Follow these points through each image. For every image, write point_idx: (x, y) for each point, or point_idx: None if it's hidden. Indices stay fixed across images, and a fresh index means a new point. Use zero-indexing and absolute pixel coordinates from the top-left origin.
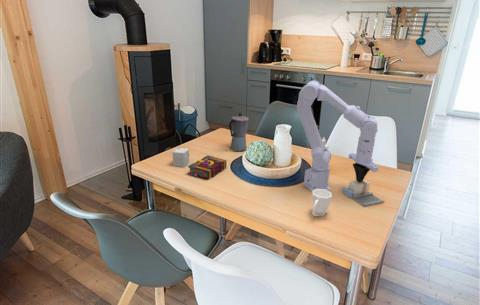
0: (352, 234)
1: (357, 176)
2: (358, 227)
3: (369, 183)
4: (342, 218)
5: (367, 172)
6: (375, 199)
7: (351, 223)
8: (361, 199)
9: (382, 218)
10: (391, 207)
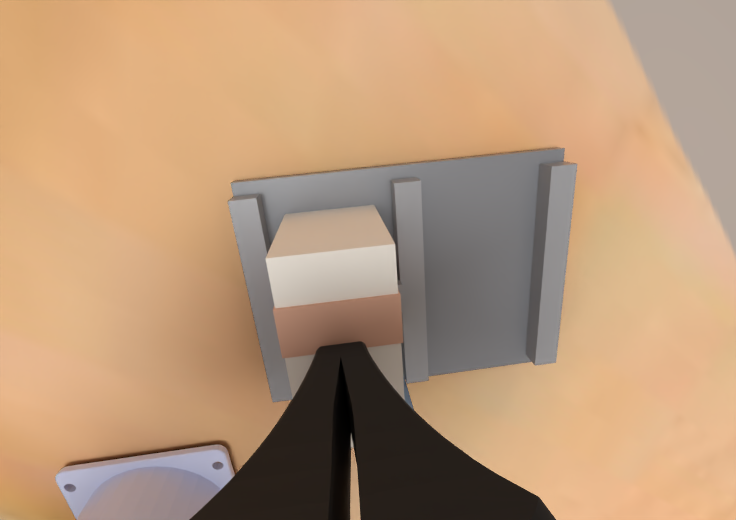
0: (696, 513)
1: (348, 471)
2: (674, 469)
3: (393, 243)
4: (572, 506)
5: (440, 438)
6: (488, 199)
7: (630, 485)
8: (445, 317)
9: (691, 301)
10: (628, 125)
